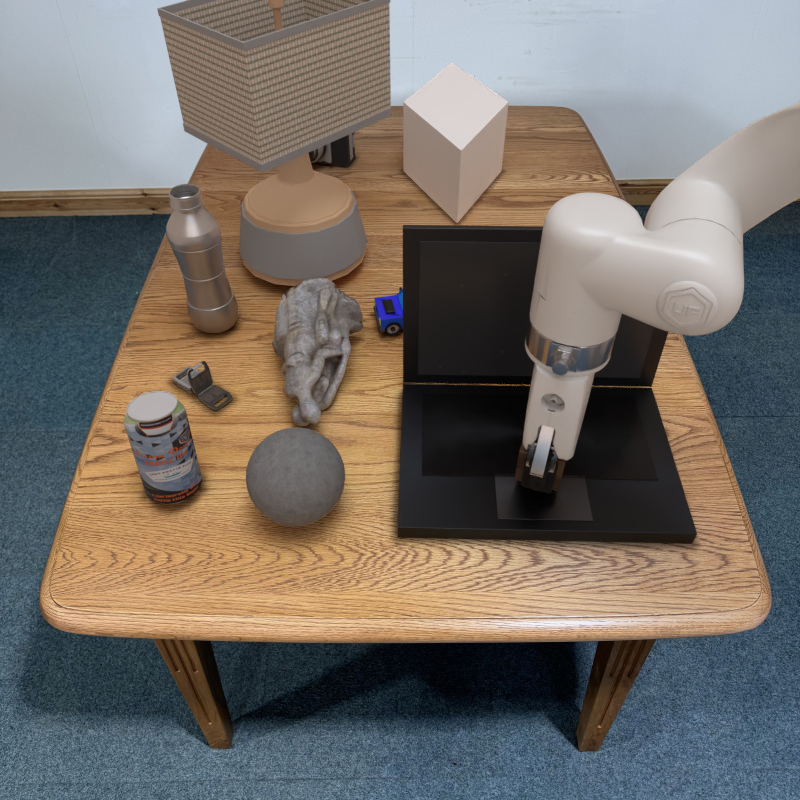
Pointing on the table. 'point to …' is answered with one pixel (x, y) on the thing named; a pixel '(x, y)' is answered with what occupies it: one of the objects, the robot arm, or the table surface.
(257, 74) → the desk lamp
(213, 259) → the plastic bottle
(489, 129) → the block
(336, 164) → the camera
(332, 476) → the decorative ball
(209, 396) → the strap clip
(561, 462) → the block
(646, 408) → the laptop
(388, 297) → the toy car
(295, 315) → the sculpture
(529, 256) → the laptop screen
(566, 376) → the robot arm
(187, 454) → the beverage can
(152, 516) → the table surface
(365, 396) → the table surface
